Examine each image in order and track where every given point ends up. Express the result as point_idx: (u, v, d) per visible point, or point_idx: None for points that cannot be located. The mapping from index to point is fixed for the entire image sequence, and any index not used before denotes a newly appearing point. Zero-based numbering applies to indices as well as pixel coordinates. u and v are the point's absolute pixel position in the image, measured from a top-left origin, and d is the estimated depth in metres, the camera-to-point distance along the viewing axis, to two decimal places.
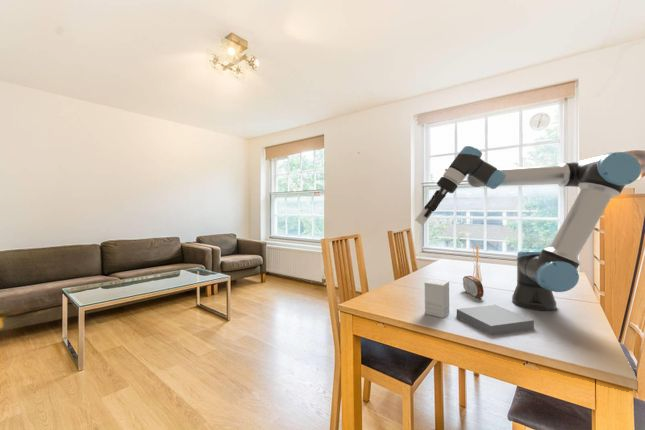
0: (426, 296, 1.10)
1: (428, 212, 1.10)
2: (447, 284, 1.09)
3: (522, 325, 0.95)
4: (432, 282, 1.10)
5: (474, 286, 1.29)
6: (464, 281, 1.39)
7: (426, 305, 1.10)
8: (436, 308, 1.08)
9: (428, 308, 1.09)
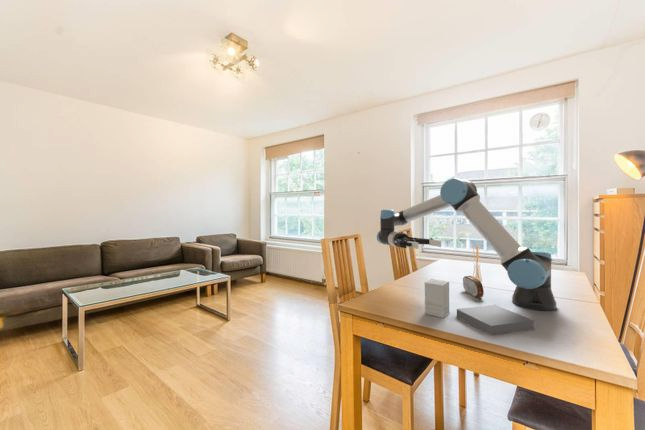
0: (426, 296, 1.10)
1: (406, 244, 1.28)
2: (447, 284, 1.09)
3: (522, 325, 0.95)
4: (432, 282, 1.10)
5: (474, 286, 1.29)
6: (464, 281, 1.39)
7: (426, 305, 1.10)
8: (436, 307, 1.08)
9: (428, 308, 1.09)
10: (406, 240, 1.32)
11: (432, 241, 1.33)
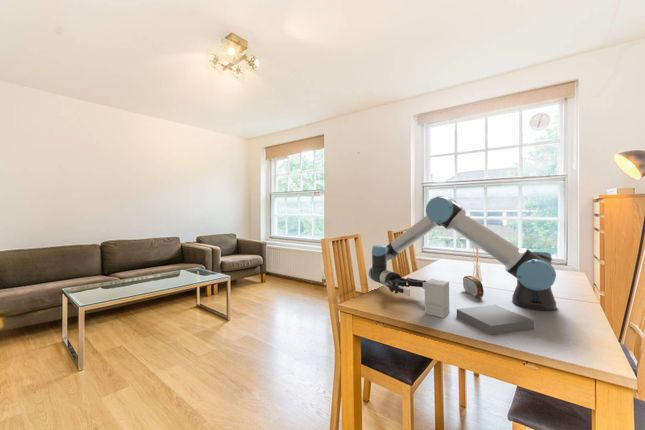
0: (426, 296, 1.10)
1: (398, 290, 1.20)
2: (447, 284, 1.09)
3: (522, 325, 0.95)
4: (432, 282, 1.10)
5: (474, 286, 1.29)
6: (464, 281, 1.39)
7: (426, 305, 1.10)
8: (436, 307, 1.08)
9: (428, 308, 1.10)
10: (398, 284, 1.24)
11: None
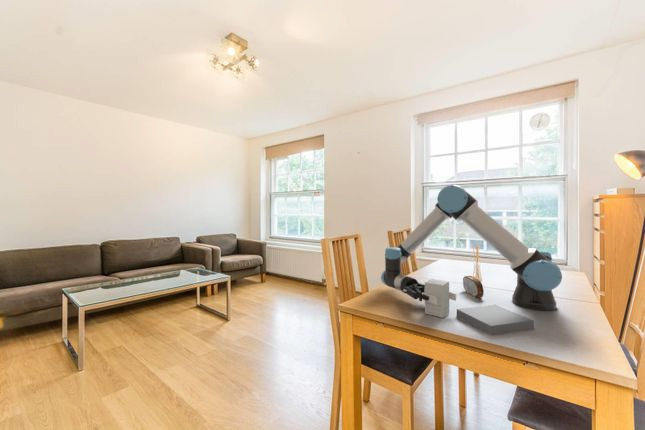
0: None
1: (422, 297, 1.09)
2: (447, 284, 1.09)
3: (522, 325, 0.95)
4: (432, 282, 1.10)
5: (474, 286, 1.29)
6: (464, 281, 1.39)
7: (426, 305, 1.10)
8: (436, 307, 1.08)
9: (428, 308, 1.09)
10: (420, 290, 1.14)
11: None
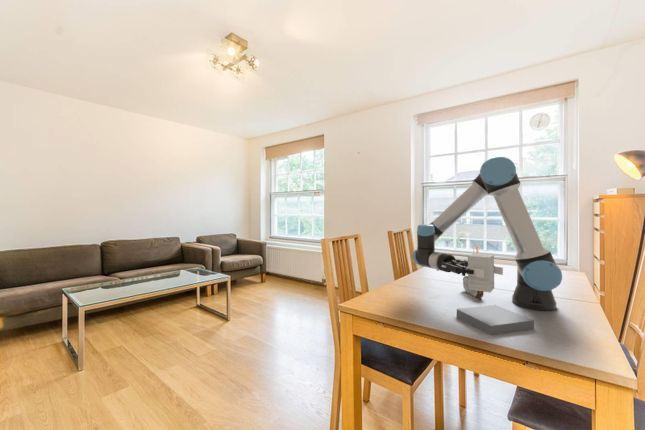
0: None
1: (466, 271, 1.01)
2: (492, 257, 1.02)
3: (522, 325, 0.95)
4: (476, 255, 1.02)
5: None
6: (464, 281, 1.39)
7: (470, 280, 1.02)
8: (481, 282, 1.00)
9: (472, 283, 1.02)
10: (461, 265, 1.06)
11: None
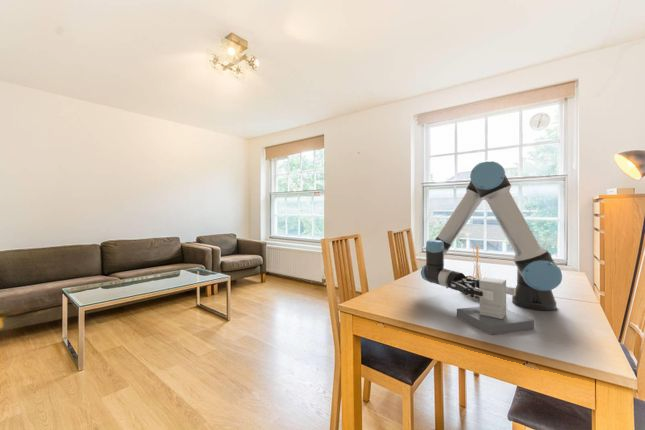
0: None
1: (475, 292, 1.00)
2: (505, 282, 1.00)
3: (522, 325, 0.95)
4: (488, 280, 1.01)
5: None
6: None
7: (481, 306, 1.01)
8: (493, 308, 0.98)
9: (484, 308, 1.00)
10: (470, 285, 1.05)
11: None
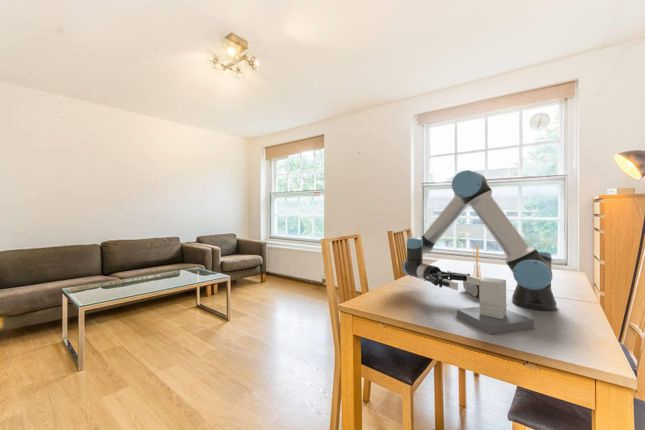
0: (481, 295, 1.01)
1: (443, 283, 1.12)
2: (505, 282, 1.00)
3: (522, 325, 0.95)
4: (488, 280, 1.01)
5: (474, 286, 1.29)
6: (464, 281, 1.39)
7: (481, 306, 1.01)
8: (493, 308, 0.98)
9: (484, 309, 1.00)
10: (441, 277, 1.17)
11: (470, 278, 1.17)
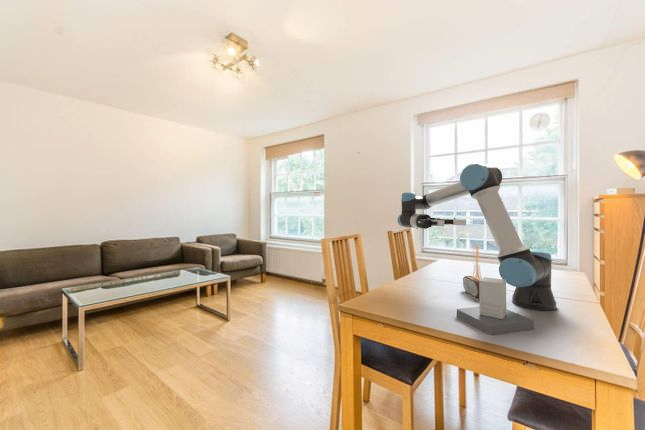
0: (481, 295, 1.01)
1: (432, 223, 1.29)
2: (505, 282, 1.00)
3: (522, 325, 0.95)
4: (488, 280, 1.01)
5: (474, 286, 1.29)
6: (464, 281, 1.39)
7: (481, 306, 1.01)
8: (493, 308, 0.98)
9: (484, 309, 1.00)
10: None
11: (456, 220, 1.34)
